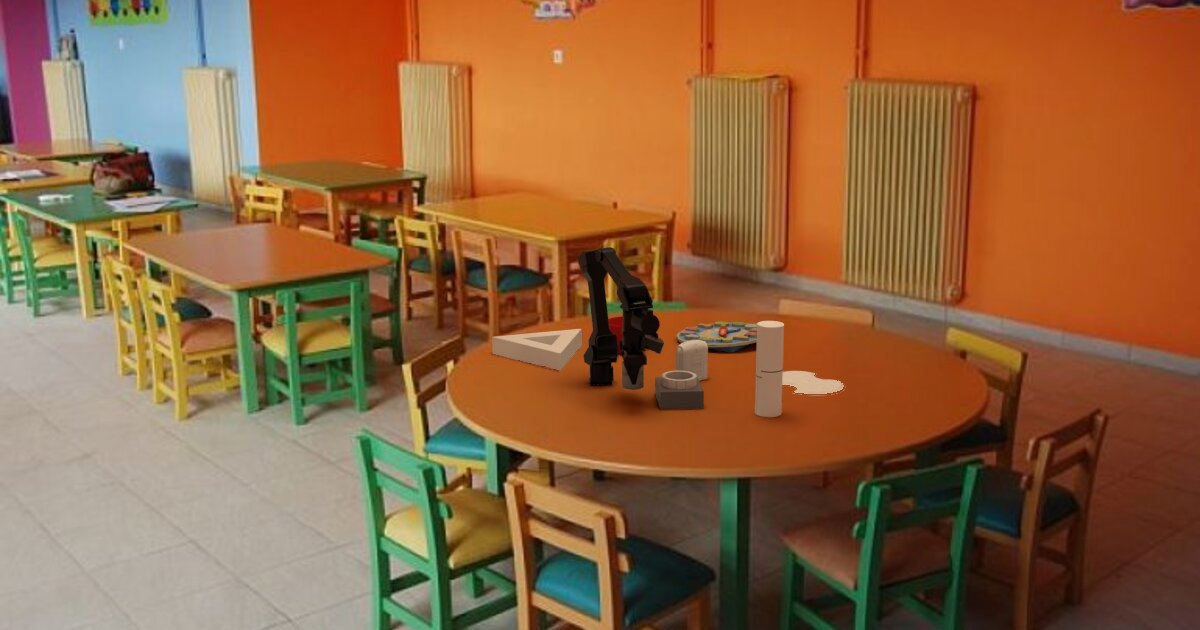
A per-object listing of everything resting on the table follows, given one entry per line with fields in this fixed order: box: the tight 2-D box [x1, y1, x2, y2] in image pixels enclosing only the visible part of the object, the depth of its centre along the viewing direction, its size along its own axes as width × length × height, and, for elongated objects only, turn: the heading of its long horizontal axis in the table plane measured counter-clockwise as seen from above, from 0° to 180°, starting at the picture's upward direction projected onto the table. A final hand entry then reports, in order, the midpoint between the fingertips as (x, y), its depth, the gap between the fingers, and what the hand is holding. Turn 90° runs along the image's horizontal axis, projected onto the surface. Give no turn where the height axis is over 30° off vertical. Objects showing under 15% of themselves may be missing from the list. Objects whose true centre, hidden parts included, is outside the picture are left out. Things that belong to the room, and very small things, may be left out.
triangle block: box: [491, 328, 583, 372], centre depth 379 cm, size 30×26×6 cm
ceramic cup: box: [608, 315, 623, 354], centre depth 388 cm, size 13×17×10 cm
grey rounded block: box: [621, 361, 645, 391], centre depth 336 cm, size 6×6×7 cm
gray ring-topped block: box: [654, 370, 705, 410], centre depth 338 cm, size 12×14×8 cm
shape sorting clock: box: [676, 321, 757, 353], centre depth 399 cm, size 31×30×6 cm
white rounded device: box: [675, 340, 709, 382], centre depth 356 cm, size 10×4×12 cm, turn 123°
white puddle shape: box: [782, 370, 845, 394], centre depth 354 cm, size 20×2×25 cm
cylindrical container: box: [754, 320, 785, 418], centre depth 325 cm, size 7×7×25 cm
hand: (632, 381), depth 337 cm, fingers closed on grey rounded block, 6 cm apart
